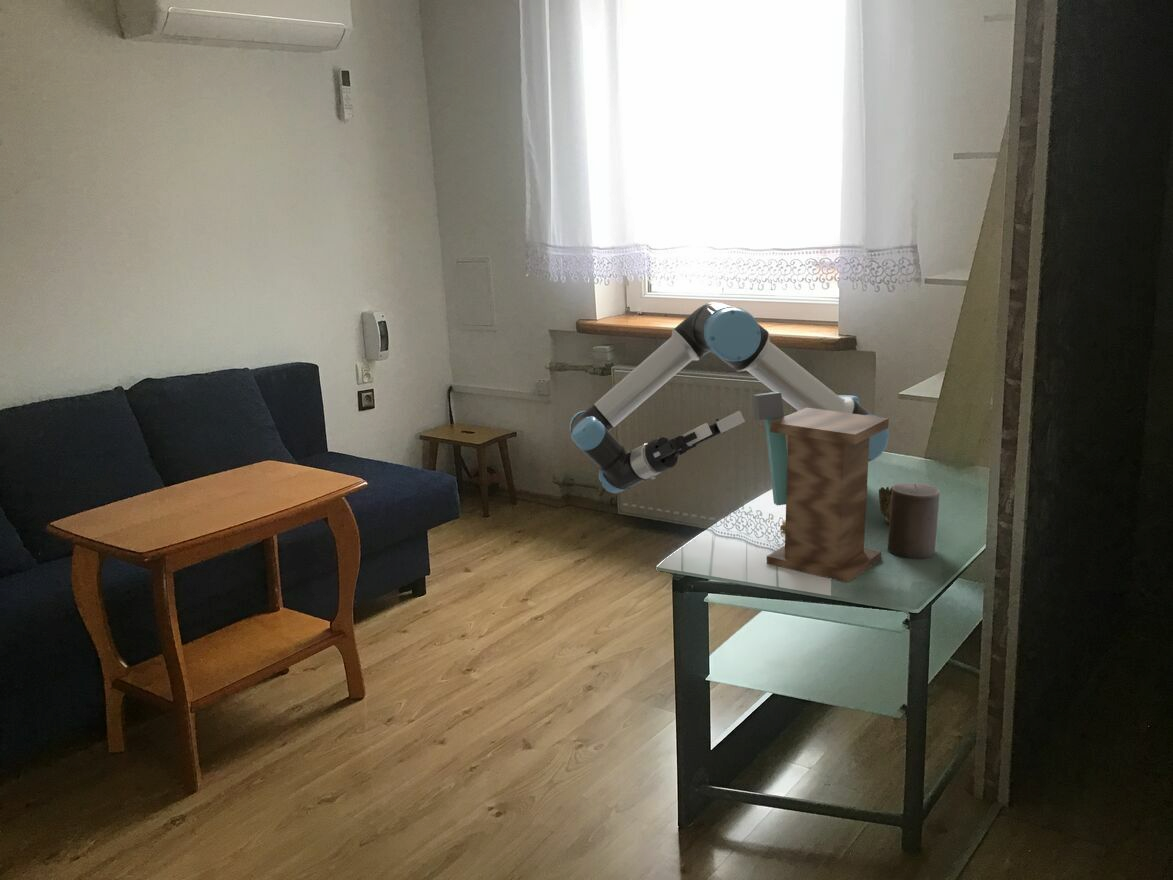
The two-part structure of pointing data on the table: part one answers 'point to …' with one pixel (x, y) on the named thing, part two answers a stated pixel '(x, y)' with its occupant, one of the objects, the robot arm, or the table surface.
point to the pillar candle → (913, 520)
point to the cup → (885, 502)
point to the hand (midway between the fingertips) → (725, 422)
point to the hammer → (773, 441)
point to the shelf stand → (826, 492)
